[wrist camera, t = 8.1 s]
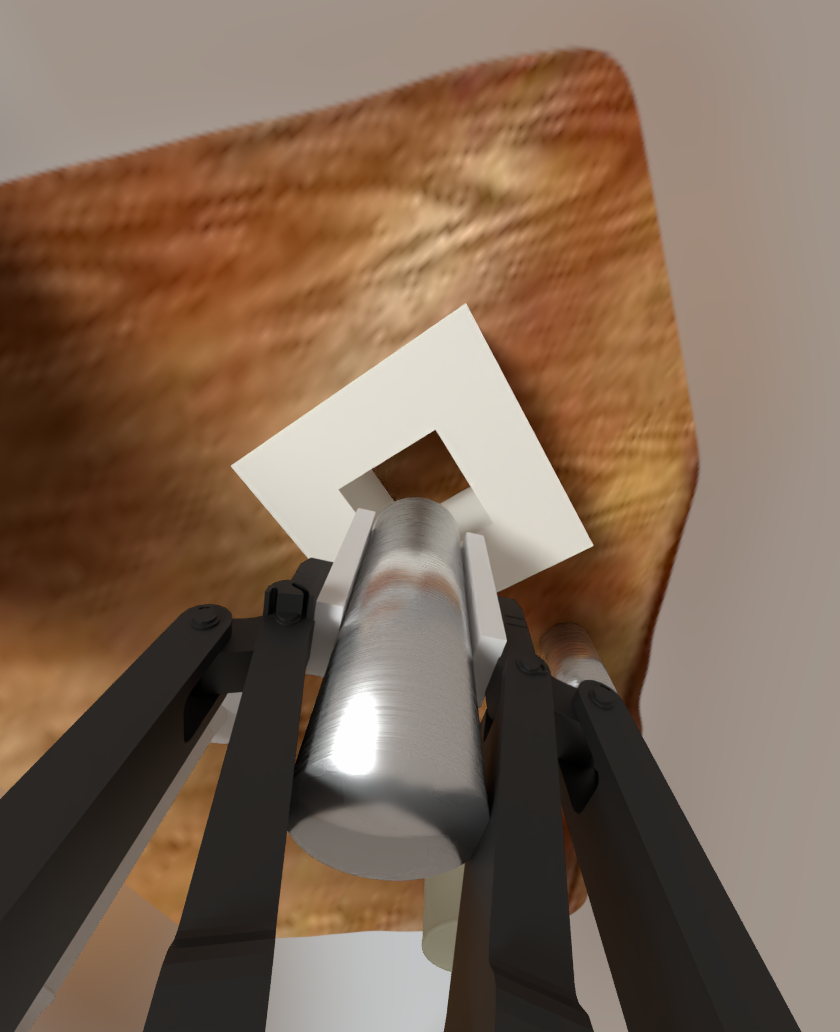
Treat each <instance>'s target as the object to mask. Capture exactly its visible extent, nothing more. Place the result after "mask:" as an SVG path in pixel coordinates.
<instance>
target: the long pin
mask: <svg viewBox="0 0 840 1032" xmlns="http://www.w3.org/2000/svg"><path fill="white" fill-rule="evenodd" d="M489 820H490V817H489V808H488V798H487V789H486V779H485V770H484V760H483V751H482V741H481V732H480V722H479V713H478V703H477V694H476V684H475V675H474V666H473V656H472V647H471V637H470V628H469V618H468V609H467V599H466V590H465V580H464V571H463V561H462V552H461V542H460V533H459V528H458V525H457V522H456V520H455V519H454V517H453V516H452V514H451V513H450V512H449V511H448V510H447V509H446V508H445V507H443V506H442V505H440V504H439V503H437V502H435V501H432V500H429V499H426V498H420V497H410V498H404V499H400V500H397V501H395V502H393V503H391V504H390V505H388V506H387V507H386V508H384V509H383V510H382V511H381V513H380V514H379V515H378V517H377V518H376V520H375V523H374V525H373V528H372V533H371V536H370V539H369V542H368V545H367V548H366V551H365V554H364V557H363V560H362V563H361V566H360V569H359V572H358V576H357V579H356V582H355V585H354V588H353V591H352V594H351V597H350V600H349V603H348V606H347V609H346V612H345V615H344V618H343V621H342V625H341V628H340V631H339V634H338V636H337V638H336V641H335V644H334V647H333V650H332V653H331V657H330V660H329V663H328V666H327V669H326V672H325V675H324V678H323V681H322V684H321V687H320V690H319V693H318V696H317V699H316V702H315V705H314V708H313V711H312V714H311V717H310V721H309V724H308V727H307V730H306V733H305V736H304V739H303V742H302V745H301V748H300V751H299V754H298V757H297V760H296V763H295V766H294V774H293V783H292V792H291V800H290V809H289V818H288V827H287V831H288V832H289V834H290V836H291V837H292V838H293V840H294V841H295V842H296V843H297V844H298V845H299V846H300V847H301V848H302V849H303V850H304V851H305V852H306V853H308V854H309V855H311V856H312V857H313V858H315V859H317V860H318V861H320V862H322V863H323V864H325V865H328V866H330V867H332V868H334V869H337V870H339V871H342V872H345V873H348V874H352V875H355V876H360V877H364V878H370V879H377V880H390V881H405V880H417V879H423V878H429V877H432V876H436V875H440V874H443V873H446V872H449V871H451V870H453V869H455V868H457V867H459V866H461V865H463V864H464V863H466V862H467V861H469V860H470V859H471V857H472V855H473V853H474V851H475V849H476V847H477V845H478V843H479V840H480V838H481V836H482V834H483V832H484V830H485V828H486V826H487V824H488V822H489Z"/></svg>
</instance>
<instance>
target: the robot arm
mask: <svg viewBox="0 0 840 1032" xmlns="http://www.w3.org/2000/svg"><path fill="white" fill-rule="evenodd" d="M375 513H376V512H374V511H370V510H365V509H361V508H358V509H357V511H356V514H355V516H354V518H353V520H352V523H351V525H350V527H349V529H348V532H347V534H346V536H345V538H344V541H343V543H342V545H341V547H340V550H339V552H338V554H337V556H336V558H335V561H334V562H330V561H325V560H321V559H316V558H309V559H307V560H306V561H304V562H303V563H301V564H300V566H299V568H298V569H297V571H296V574H294V576H293V578H292V580H282V581H279V582H275V583H273V584H272V585H270V586H269V587H268V588H267V590H266V591H265V599H264V612H263V616H259V617H255V618H247V619H232V614H231V612H230V611H229V610H228V609H227V608H225V607H222V606H219V605H213V604H205V605H198V606H195V607H192V608H190V609H188V610H186V611H185V612H183V613H182V614H181V615H180V616H179V617H178V618H177V619H176V620H175V621H174V622H173V623H172V624H171V625H170V626H169V627H168V628H167V629H166V630H165V631H164V632H163V633H162V634H161V635H160V636H159V637H158V638H157V639H156V640H155V641H154V642H153V643H152V644H151V646H150V647H149V648H148V649H147V650H146V651H145V652H144V653H143V654H142V655H141V656H140V657H139V658H138V659H137V660H136V661H135V662H134V663H133V664H132V665H131V666H130V667H129V668H128V669H127V670H126V671H125V672H124V673H123V674H122V675H121V676H120V677H119V678H118V679H117V680H116V681H115V682H114V683H113V684H112V685H111V686H110V687H109V688H108V689H107V690H106V692H105V693H104V694H103V695H102V696H101V697H100V698H99V699H98V700H97V701H96V702H95V703H94V704H93V705H92V706H91V707H90V708H89V709H88V710H87V711H86V712H85V713H84V714H83V715H82V716H81V717H80V718H79V719H78V720H77V721H76V722H75V723H74V724H73V725H72V726H71V727H70V728H69V729H68V730H67V731H66V732H65V733H64V734H63V735H62V737H61V738H60V739H59V740H58V741H57V742H56V743H55V744H54V745H53V746H52V747H51V748H50V749H49V750H48V751H47V752H46V753H45V754H44V755H43V756H42V757H41V758H40V759H39V760H38V761H37V762H36V763H35V764H34V765H33V766H32V767H31V768H30V769H29V770H28V771H27V772H26V773H25V774H24V775H23V776H22V777H21V778H20V779H19V780H18V782H17V783H16V784H15V785H14V786H13V787H12V788H11V789H10V790H9V791H8V792H7V793H6V794H5V795H4V796H3V797H2V798H1V799H0V1032H15V1030H16V1028H17V1027H18V1025H19V1024H20V1022H21V1020H22V1019H23V1017H24V1016H25V1014H26V1013H27V1011H28V1009H29V1008H30V1006H31V1005H32V1003H33V1001H34V1000H35V998H36V997H37V995H38V994H39V992H40V990H41V989H42V987H43V986H44V984H45V982H46V981H47V979H48V978H49V976H50V975H51V973H52V971H53V970H54V968H55V967H56V965H57V963H58V962H59V960H60V959H61V957H62V956H63V954H64V952H65V951H66V949H67V948H68V946H69V944H70V943H71V941H72V940H73V938H74V937H75V935H76V933H77V932H78V930H79V929H80V927H81V926H82V924H83V922H84V921H85V919H86V918H87V916H88V914H89V913H90V911H91V910H92V908H93V907H94V905H95V903H96V902H97V900H98V899H99V897H100V895H101V894H102V892H103V891H104V889H105V888H106V886H107V884H108V883H109V881H110V880H111V878H112V876H113V875H114V873H115V872H116V870H117V869H118V867H119V865H120V864H121V862H122V861H123V859H124V857H125V856H126V854H127V853H128V851H129V850H130V848H131V846H132V845H133V843H134V842H135V840H136V838H137V837H138V835H139V834H140V832H141V831H142V829H143V827H144V826H145V824H146V823H147V821H148V819H149V818H150V816H151V815H152V813H153V812H154V810H155V808H156V807H157V805H158V804H159V802H160V801H161V799H162V797H163V796H164V794H165V793H166V791H167V789H168V788H169V786H170V785H171V783H172V782H173V780H174V778H175V777H176V775H177V774H178V772H179V770H180V769H181V767H182V766H183V764H184V763H185V761H186V759H187V758H188V756H189V755H190V753H191V751H192V750H193V748H194V747H195V745H196V744H197V742H198V740H199V739H200V737H201V736H202V734H203V732H204V731H205V729H206V728H207V726H208V725H209V723H210V721H211V720H212V718H213V717H214V715H215V713H216V712H217V710H218V709H219V707H220V706H221V704H222V702H223V701H224V699H225V698H226V696H227V694H228V693H239V692H242V696H241V699H240V703H239V707H238V710H237V714H236V718H235V721H234V725H233V729H232V732H231V736H230V740H229V743H228V747H227V751H226V755H225V758H224V762H223V766H222V769H221V773H220V777H219V780H218V784H217V788H216V791H215V795H214V799H213V802H212V806H211V810H210V814H209V817H208V821H207V825H206V828H205V832H204V836H203V839H202V843H201V847H200V850H199V854H198V858H197V861H196V865H195V869H194V873H193V876H192V880H191V884H190V887H189V891H188V895H187V898H186V902H185V906H184V909H183V913H182V917H181V920H180V924H179V927H178V931H177V934H176V936H175V939H174V941H173V943H172V944H171V946H170V947H169V949H168V951H167V954H166V956H165V959H164V962H163V965H162V968H161V971H160V975H159V977H158V981H157V984H156V987H155V991H154V995H153V998H152V1001H151V1005H150V1009H149V1012H148V1016H147V1019H146V1023H145V1026H144V1030H143V1032H265V1028H266V1019H267V1010H268V1001H269V992H270V984H271V975H272V966H273V957H274V947H275V936H276V923H277V914H278V905H279V897H280V888H281V879H282V870H283V862H284V853H285V844H286V835H287V827H288V818H289V809H290V800H291V792H292V783H293V774H294V765H295V757H296V748H297V739H298V730H299V722H300V713H301V704H302V695H303V687H304V678H305V669H306V666H307V669H306V674H310V675H315V676H321V677H324V675H325V672H326V669H327V666H328V663H329V660H330V657H331V653H332V650H333V647H334V644H335V641H336V638H337V636H338V634H339V631H340V628H341V625H342V621H343V618H344V615H345V612H346V609H347V606H348V603H349V600H350V597H351V594H352V591H353V588H354V585H355V582H356V579H357V576H358V572H359V569H360V566H361V563H362V560H363V557H364V554H365V551H366V548H367V545H368V542H369V539H370V536H371V533H372V528H373V523H374V518H375ZM461 552H462V561H463V571H464V580H465V590H466V599H467V609H468V618H469V628H470V637H471V647H472V656H473V666H474V675H475V684H476V694H477V703H478V708H480V707H481V705H482V702H483V700H484V697H485V696H486V704H487V709H486V711H485V714H484V716H483V719H482V721H481V724H480V732H481V741H482V751H483V760H484V770H485V779H486V789H487V798H488V808H489V817H490V820H489V822H488V824H487V826H486V828H485V830H484V832H483V834H482V836H481V838H480V840H479V843H478V845H477V847H476V849H475V851H474V853H473V855H472V857H471V859H470V860H469V861H467V862H466V863H465V866H464V875H463V883H462V891H461V899H460V908H459V916H458V924H457V933H456V941H455V949H454V957H453V966H452V974H451V982H450V991H449V999H448V1007H447V1016H446V1022H445V1028H444V1032H594V1031H593V1028H592V1025H591V1022H590V1018H589V1016H588V1014H587V1013H586V1012H585V1010H584V1009H583V1008H582V1007H581V1005H580V1004H579V1002H578V999H577V996H576V991H575V983H574V971H573V959H572V944H571V931H570V918H569V905H568V891H567V878H566V865H565V851H564V838H563V825H562V812H561V804H562V808H563V811H564V815H565V818H566V821H567V825H568V828H569V832H570V835H571V838H572V842H573V845H574V849H575V852H576V855H577V859H578V862H579V866H580V869H581V872H582V876H583V879H584V883H585V886H586V889H587V893H588V896H589V899H590V903H591V906H592V910H593V913H594V917H595V920H596V923H597V927H598V930H599V933H600V937H601V940H602V944H603V947H604V951H605V954H606V957H607V961H608V964H609V968H610V971H611V974H612V978H613V981H614V984H615V988H616V991H617V995H618V998H619V1001H620V1005H621V1008H622V1011H623V1015H624V1018H625V1022H626V1025H627V1029H628V1032H801V1030H800V1028H799V1027H798V1025H797V1023H796V1021H795V1019H794V1017H793V1015H792V1014H791V1012H790V1010H789V1008H788V1006H787V1004H786V1002H785V1001H784V999H783V997H782V995H781V993H780V991H779V989H778V988H777V986H776V984H775V982H774V980H773V978H772V976H771V975H770V973H769V971H768V969H767V967H766V965H765V964H764V962H763V960H762V958H761V956H760V954H759V952H758V950H757V949H756V947H755V945H754V943H753V941H752V939H751V937H750V936H749V934H748V932H747V930H746V929H745V926H744V925H743V923H742V921H741V919H740V917H739V915H738V913H737V911H736V910H735V908H734V906H733V904H732V902H731V901H730V898H729V897H728V895H727V893H726V891H725V889H724V887H723V886H722V884H721V882H720V880H719V878H718V876H717V874H716V872H715V871H714V869H713V867H712V865H711V863H710V861H709V860H708V858H707V856H706V854H705V852H704V850H703V848H702V846H701V845H700V843H699V841H698V839H697V837H696V835H695V834H694V832H693V830H692V828H691V826H690V824H689V822H688V821H687V819H686V817H685V815H684V813H683V811H682V809H681V808H680V806H679V804H678V802H677V800H676V798H675V796H674V795H673V793H672V791H671V789H670V787H669V786H668V784H667V782H666V780H665V778H664V776H663V774H662V772H661V770H660V769H659V767H658V765H657V763H656V761H655V759H654V758H653V756H652V754H651V752H650V750H649V748H648V746H647V744H646V743H645V741H644V739H643V737H642V735H641V733H640V731H639V730H638V728H637V726H636V724H635V722H634V720H633V718H632V717H631V715H630V713H629V711H628V709H627V707H626V705H625V704H624V702H623V700H622V699H621V698H620V696H619V695H618V694H617V693H616V692H615V691H614V690H612V689H611V688H610V687H608V686H607V685H605V684H603V683H601V682H598V681H595V680H584V681H582V682H580V684H579V686H578V688H576V687H573V686H571V685H569V684H567V683H564V682H562V681H560V680H558V679H556V678H555V677H553V676H552V675H551V672H550V669H549V666H548V665H547V664H546V663H545V661H544V660H542V659H541V658H540V657H539V656H537V655H536V654H535V650H534V647H533V644H532V640H531V637H530V634H529V630H528V629H527V624H526V621H525V617H524V614H523V610H522V608H521V607H520V606H519V605H518V604H517V602H516V601H515V600H514V599H509V598H505V597H500V596H497V593H496V589H495V584H494V580H493V575H492V571H491V566H490V562H489V557H488V552H487V548H486V543H485V539H484V536H483V535H479V534H474V533H470V532H466V535H465V539H464V542H463V545H462V549H461Z"/></svg>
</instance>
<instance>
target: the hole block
mask: <svg viewBox="0 0 840 1032" xmlns="http://www.w3.org/2000/svg"><path fill="white" fill-rule="evenodd" d="M434 430H436V431H437V433H438V434H439V436H440V438H441V439H442V441H443V442H444V444H445V446H446V447H447V449H448V451H449V452H450V454H451V455H452V457H453V459H454V460H455V462H456V464H457V465H458V467H459V468H460V470H461V472H462V473H463V475H464V476H465V478H466V480H467V481H468V483H469V485H470V487H469V488H467V489H465V490H463V491H461V492H460V493H458V494H456V495H454V496H453V497H451V498H449V499H447V500H445V501H444V502H442V503H440V505H442V506H443V507H445V508H446V509H447V510H448V511H449V512H450V513H451V514H452V516H453V517H454V519H455V520H456V522H457V525H458V528H459V533H460V542H461V549H462V545H463V542H464V539H465V535H466V532H470V533H474V534H479V535H483V536H484V539H485V543H486V548H487V552H488V557H489V562H490V566H491V571H492V575H493V580H494V584H495V589H496V593H497V592H499V591H501V590H503V589H505V588H507V587H510V586H512V585H514V584H516V583H518V582H520V581H522V580H524V579H526V578H528V577H530V576H532V575H534V574H536V573H538V572H541V571H543V570H545V569H547V568H549V567H551V566H553V565H555V564H557V563H559V562H561V561H563V560H565V559H567V558H570V557H572V556H574V555H576V554H578V553H580V552H582V551H584V550H586V549H588V548H590V547H592V546H594V545H593V544H592V542H591V540H590V538H589V536H588V534H587V532H586V530H585V528H584V526H583V525H582V523H581V521H580V519H579V517H578V515H577V513H576V511H575V509H574V507H573V506H572V504H571V502H570V500H569V498H568V496H567V494H566V492H565V490H564V489H563V487H562V485H561V483H560V481H559V479H558V477H557V475H556V473H555V471H554V470H553V468H552V466H551V464H550V462H549V460H548V458H547V456H546V454H545V452H544V451H543V449H542V447H541V445H540V443H539V441H538V439H537V437H536V435H535V433H534V432H533V430H532V428H531V426H530V424H529V422H528V420H527V418H526V416H525V415H524V413H523V411H522V409H521V407H520V405H519V403H518V401H517V399H516V397H515V396H514V394H513V392H512V390H511V388H510V386H509V384H508V382H507V380H506V378H505V377H504V375H503V373H502V371H501V369H500V367H499V365H498V363H497V361H496V359H495V358H494V356H493V354H492V352H491V350H490V348H489V346H488V344H487V342H486V340H485V339H484V337H483V335H482V333H481V331H480V329H479V327H478V325H477V323H476V322H475V320H474V318H473V316H472V314H471V312H470V310H469V308H468V306H467V304H464V305H463V306H461V307H460V308H458V309H457V310H455V311H454V312H453V313H451V314H450V315H448V316H447V317H445V318H444V319H442V320H441V321H440V322H438V323H437V324H435V325H434V326H432V327H431V328H429V329H428V330H426V331H425V332H424V333H422V334H421V335H419V336H418V337H416V338H415V339H413V340H412V341H411V342H409V343H408V344H406V345H405V346H403V347H402V348H400V349H399V350H398V351H396V352H395V353H393V354H392V355H390V356H389V357H387V358H386V359H385V360H383V361H382V362H380V363H379V364H377V365H376V366H374V367H373V368H372V369H370V370H369V371H367V372H366V373H364V374H363V375H361V376H360V377H359V378H357V379H356V380H354V381H353V382H351V383H350V384H348V385H347V386H345V387H344V388H343V389H341V390H340V391H338V392H337V393H335V394H334V395H332V396H331V397H330V398H328V399H327V400H325V401H324V402H322V403H321V404H319V405H318V406H317V407H315V408H314V409H312V410H311V411H309V412H308V413H306V414H305V415H304V416H302V417H301V418H299V419H298V420H296V421H295V422H293V423H292V424H291V425H289V426H288V427H286V428H285V429H283V430H282V431H280V432H279V433H278V434H276V435H275V436H273V437H272V438H270V439H269V440H267V441H266V442H265V443H263V444H262V445H260V446H259V447H257V448H256V449H254V450H253V451H251V452H250V453H249V454H247V455H246V456H244V457H243V458H241V459H240V460H238V461H237V462H236V463H234V464H233V465H231V467H232V468H233V469H234V471H235V472H236V473H237V474H238V475H239V477H240V478H241V479H242V480H243V481H244V483H245V484H246V485H247V486H248V487H249V489H250V490H251V491H252V492H253V493H254V494H255V496H256V497H257V498H258V499H259V500H260V502H261V503H262V504H263V505H264V506H265V508H266V509H267V510H268V511H269V512H270V514H271V515H272V516H273V517H274V518H275V519H276V521H277V522H278V523H279V524H280V525H281V527H282V528H283V529H284V530H285V531H286V533H287V534H288V535H289V536H290V537H291V539H292V540H293V541H294V542H295V543H296V545H297V546H298V547H299V548H300V549H301V550H302V552H303V553H304V554H305V555H306V556H307V558H308V559H309V558H316V559H321V560H325V561H330V562H334V561H335V558H336V556H337V554H338V552H339V550H340V547H341V545H342V543H343V541H344V538H345V536H346V534H347V532H348V529H349V527H350V525H351V523H352V520H353V518H354V516H355V514H356V511H357V509H358V508H361V509H365V510H370V511H374V512H376V513H375V518H374V523H375V520H376V518H377V517H378V515H379V514H380V513H381V511H382V510H383V509H384V508H386V507H387V506H388V505H390V504H391V503H393V502H394V500H393V499H392V497H391V496H390V495H389V493H388V492H387V490H386V489H385V488H384V486H383V485H382V483H381V482H380V480H379V479H378V478H377V476H376V475H375V473H374V472H373V470H372V468H374V467H376V466H377V465H379V464H381V463H382V462H384V461H385V460H387V459H389V458H390V457H392V456H393V455H395V454H397V453H398V452H400V451H402V450H403V449H405V448H406V447H408V446H410V445H411V444H413V443H415V442H416V441H418V440H419V439H421V438H423V437H424V436H426V435H427V434H429V433H431V432H432V431H434ZM374 523H373V525H374Z"/></svg>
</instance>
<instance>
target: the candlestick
mask: <svg viewBox="0 0 840 1032" xmlns="http://www.w3.org/2000/svg"><path fill="white" fill-rule="evenodd" d="M241 696H242V692H239V693H228V694H227V696H226V698H225V699H224V701H223V702H222V704H221V706H220V707H219V709H218V710H217V712H216V713H215V715H214V717H213V718H212V720H211V721H210V723H209V725H208V726H207V728H206V729H205V731H204V732H203V734H202V736H201V737H200V739H199V740H198V742H197V744H196V745H195V747H194V748H193V750H192V751H191V753H190V755H189V756H188V758H187V759H186V761H185V763H184V764H183V766H182V767H181V769H180V770H179V772H178V774H177V775H176V777H175V778H174V780H173V782H172V783H171V785H170V786H169V788H168V789H167V791H166V793H165V794H164V796H163V797H162V799H161V801H160V802H159V804H158V805H157V807H156V808H155V810H154V812H153V813H152V815H151V816H150V818H149V819H148V821H147V823H146V824H145V826H144V827H143V829H142V831H141V832H140V834H139V835H138V837H137V838H136V840H135V842H134V843H133V845H132V846H131V848H130V850H129V851H128V853H127V854H126V856H125V857H124V859H123V861H122V862H121V864H120V865H119V867H118V869H117V870H116V872H115V873H114V875H113V876H112V878H111V880H110V881H109V883H108V884H107V886H106V888H105V889H104V891H103V892H102V894H101V895H100V897H99V899H98V900H97V902H96V903H95V905H94V907H93V908H92V910H91V911H90V913H89V914H88V916H87V918H86V919H85V921H84V922H83V924H82V926H81V927H80V929H79V930H78V932H77V933H76V935H75V937H74V938H73V940H72V941H71V943H70V944H69V946H68V948H67V949H66V951H65V952H64V954H63V956H62V957H61V959H60V960H59V962H58V963H57V965H56V967H55V968H54V970H53V971H52V973H51V975H50V976H49V978H48V979H47V981H46V982H45V984H44V986H43V987H42V989H41V990H40V992H39V994H38V995H37V997H36V998H35V1000H34V1001H33V1003H32V1005H31V1006H30V1008H29V1009H28V1011H27V1013H26V1014H25V1016H24V1017H23V1019H22V1020H21V1022H20V1024H19V1025H18V1027H17V1028H16V1030H15V1032H30V1030H31V1028H32V1026H33V1024H34V1022H35V1021H36V1019H37V1018H38V1016H39V1015H40V1014H41V1012H42V1011H43V1010H44V1009H45V1008H46V1007H47V1006H48V1005H49V1004H50V1003H52V1002H53V1001H54V1000H55V997H56V993H57V991H58V989H59V988H60V986H61V985H62V983H63V981H64V980H65V978H66V976H67V975H68V973H69V972H70V970H71V968H72V967H73V965H74V963H75V961H76V960H77V958H78V957H79V955H80V954H81V952H82V950H83V949H84V947H85V945H86V944H87V942H88V940H89V939H90V937H91V935H92V934H93V932H94V931H95V929H96V927H97V926H98V924H99V922H100V921H101V919H102V917H103V916H104V914H105V913H106V911H107V909H108V908H109V906H110V904H111V903H112V901H113V900H114V898H115V896H116V895H117V893H118V891H119V890H120V888H121V887H122V885H123V883H124V882H125V880H126V878H127V877H128V875H129V873H130V872H131V870H132V869H133V867H134V865H135V864H136V862H137V860H138V859H139V857H140V856H141V854H142V852H143V851H144V849H145V847H146V846H147V844H148V842H149V841H150V839H151V838H152V836H153V834H154V833H155V831H156V829H157V828H158V826H159V824H160V823H161V821H162V820H163V818H164V816H165V815H166V813H167V811H168V810H169V808H170V806H171V805H172V803H173V802H174V800H175V798H176V797H177V795H178V793H179V792H180V790H181V789H182V787H183V785H184V784H185V782H186V780H187V779H188V777H189V775H190V774H191V772H192V771H193V769H194V767H195V766H196V764H197V762H198V761H199V759H200V758H201V756H202V754H203V753H204V751H205V750H206V748H207V746H208V745H209V744H210V743H220V744H228V743H229V740H230V736H231V732H232V729H233V725H234V721H235V718H236V714H237V710H238V707H239V703H240V699H241Z"/></svg>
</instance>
